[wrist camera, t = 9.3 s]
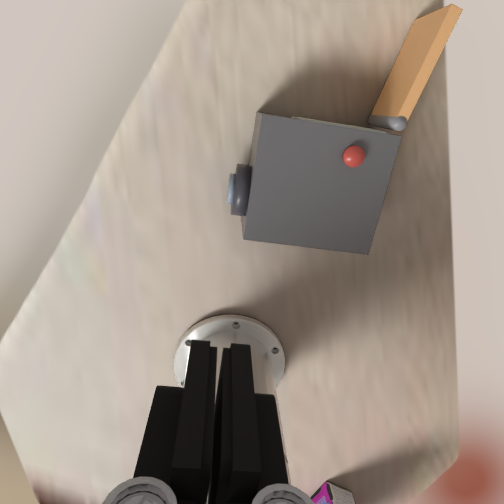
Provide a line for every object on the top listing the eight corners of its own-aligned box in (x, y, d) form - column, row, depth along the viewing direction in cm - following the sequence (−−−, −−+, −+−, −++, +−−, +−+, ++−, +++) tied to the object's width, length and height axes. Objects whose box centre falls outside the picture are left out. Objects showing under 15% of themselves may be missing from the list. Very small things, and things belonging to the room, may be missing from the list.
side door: (365, 123, 34) (390, 127, 29) (413, 19, 31) (450, 3, 26) (381, 130, 34) (408, 135, 29) (429, 27, 32) (470, 12, 26)
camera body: (348, 232, 38) (370, 257, 32) (224, 216, 37) (223, 239, 31) (374, 128, 35) (405, 134, 29) (237, 107, 33) (239, 108, 27)
